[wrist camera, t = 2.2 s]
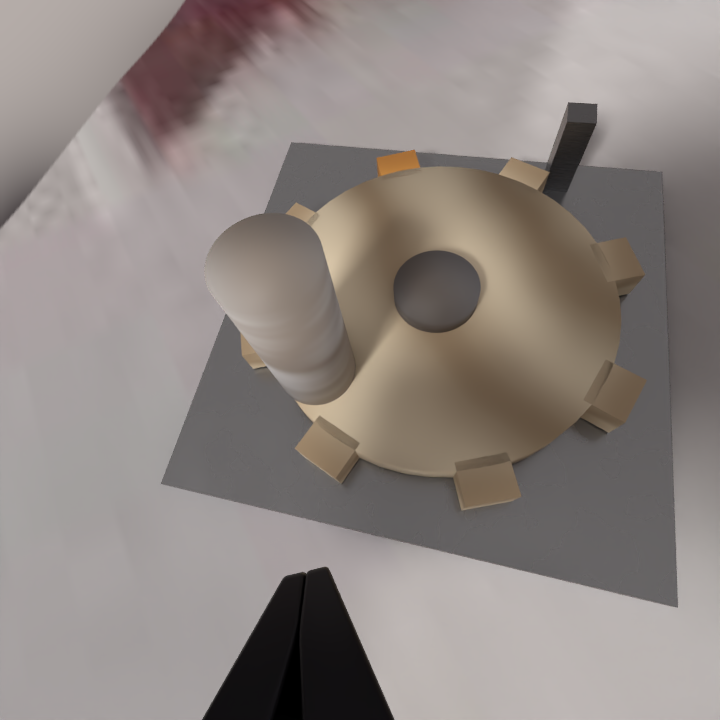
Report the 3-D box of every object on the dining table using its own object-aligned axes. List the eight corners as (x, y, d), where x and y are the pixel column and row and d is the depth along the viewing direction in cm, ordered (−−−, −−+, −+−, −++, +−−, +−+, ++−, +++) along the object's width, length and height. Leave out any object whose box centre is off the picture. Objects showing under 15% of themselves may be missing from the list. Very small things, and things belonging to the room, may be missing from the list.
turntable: (467, 129, 25) (495, -76, 17) (719, 353, 19) (962, 196, 10) (201, 279, 23) (85, 126, 15) (382, 593, 16) (352, 632, 8)
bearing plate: (670, 606, 16) (760, 623, 12) (166, 485, 19) (101, 466, 15) (657, 179, 23) (710, 98, 19) (293, 149, 27) (272, 76, 23)
